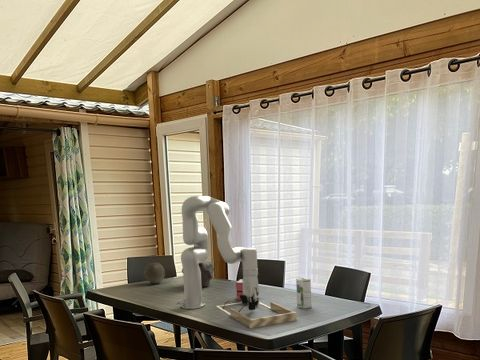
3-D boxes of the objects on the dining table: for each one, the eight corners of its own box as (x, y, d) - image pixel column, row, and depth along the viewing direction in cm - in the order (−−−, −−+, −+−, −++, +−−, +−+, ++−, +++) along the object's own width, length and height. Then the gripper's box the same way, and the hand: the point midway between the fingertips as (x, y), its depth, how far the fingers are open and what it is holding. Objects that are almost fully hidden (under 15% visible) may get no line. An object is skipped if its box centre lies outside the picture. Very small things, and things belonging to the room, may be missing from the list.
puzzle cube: (254, 300, 231) (253, 282, 232) (236, 300, 233) (236, 282, 234) (257, 296, 241) (256, 279, 242) (240, 296, 243) (239, 279, 244)
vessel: (222, 287, 271) (220, 241, 272) (190, 292, 261) (188, 244, 262) (207, 281, 292) (206, 238, 294) (178, 285, 282) (176, 241, 284)
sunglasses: (260, 307, 219) (259, 297, 219) (240, 316, 206) (239, 306, 206) (240, 303, 228) (239, 294, 228) (220, 312, 216) (219, 302, 216)
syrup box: (296, 306, 215) (295, 278, 215) (306, 304, 217) (305, 276, 217) (302, 308, 209) (300, 280, 210) (312, 307, 211) (310, 278, 212)
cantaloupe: (158, 281, 303) (158, 260, 304) (168, 283, 292) (167, 262, 293) (141, 284, 294) (140, 262, 295) (150, 286, 283) (149, 264, 284)
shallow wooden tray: (250, 328, 181) (250, 320, 182) (230, 315, 203) (230, 308, 203) (296, 320, 191) (296, 312, 191) (272, 308, 212) (272, 301, 213)
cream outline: (229, 315, 204) (229, 314, 204) (215, 306, 222) (215, 306, 222) (271, 308, 213) (271, 307, 213) (255, 300, 231) (255, 300, 231)
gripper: (237, 271, 214) (239, 307, 213) (249, 275, 200) (251, 314, 199) (250, 269, 217) (252, 305, 216) (263, 273, 203) (265, 311, 202)
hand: (252, 309), depth 208 cm, fingers closed
